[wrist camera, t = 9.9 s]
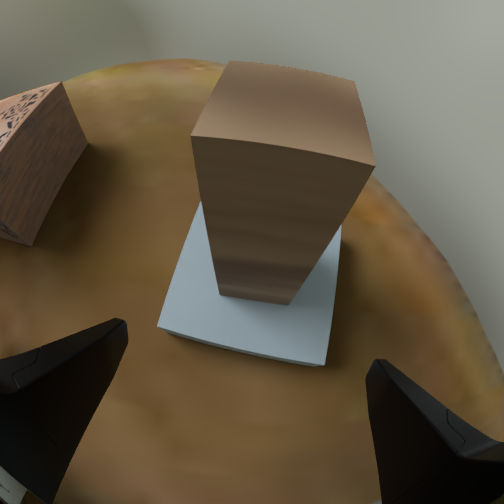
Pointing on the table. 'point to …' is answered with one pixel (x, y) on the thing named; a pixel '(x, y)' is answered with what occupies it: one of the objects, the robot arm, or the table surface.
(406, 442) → the robot arm
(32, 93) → the tissue box cover
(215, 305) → the slate base
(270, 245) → the walnut block
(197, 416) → the table surface
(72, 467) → the table surface
